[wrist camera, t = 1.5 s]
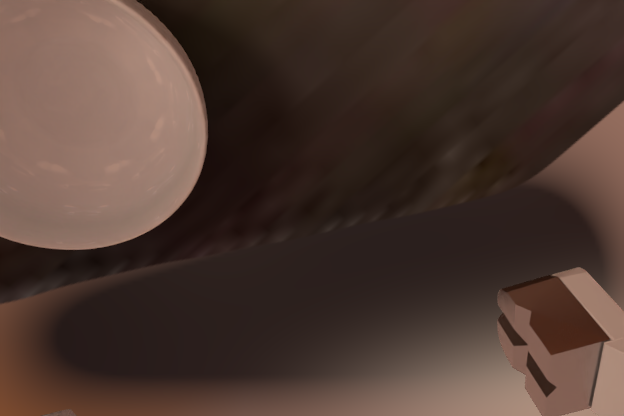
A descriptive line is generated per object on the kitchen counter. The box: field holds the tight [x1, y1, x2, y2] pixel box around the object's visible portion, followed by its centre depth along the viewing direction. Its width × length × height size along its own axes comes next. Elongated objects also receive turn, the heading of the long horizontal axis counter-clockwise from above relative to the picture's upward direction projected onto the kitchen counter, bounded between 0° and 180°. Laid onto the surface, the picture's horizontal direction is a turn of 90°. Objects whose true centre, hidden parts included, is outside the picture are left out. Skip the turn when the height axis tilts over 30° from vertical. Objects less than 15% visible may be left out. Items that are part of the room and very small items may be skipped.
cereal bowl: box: [0, 0, 208, 250], centre depth 32 cm, size 17×17×7 cm
